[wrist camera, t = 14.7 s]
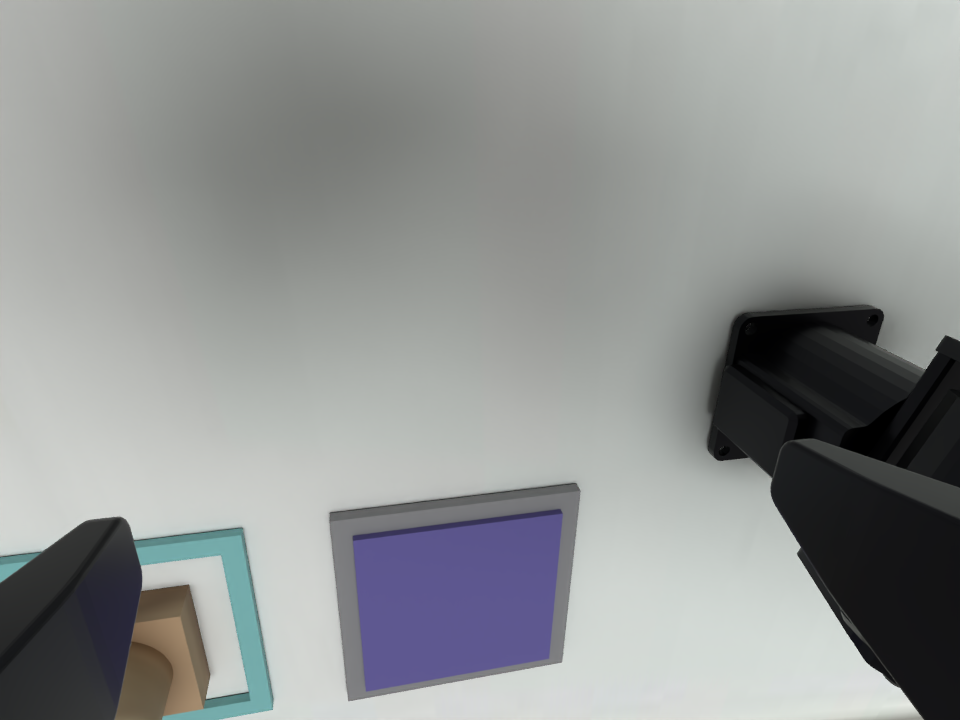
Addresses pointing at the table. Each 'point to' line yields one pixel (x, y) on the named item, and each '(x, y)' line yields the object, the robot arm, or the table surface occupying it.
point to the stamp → (164, 658)
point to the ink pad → (453, 587)
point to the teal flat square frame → (242, 604)
